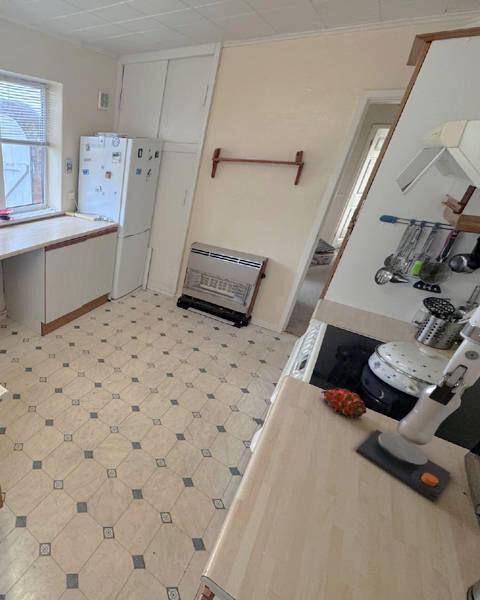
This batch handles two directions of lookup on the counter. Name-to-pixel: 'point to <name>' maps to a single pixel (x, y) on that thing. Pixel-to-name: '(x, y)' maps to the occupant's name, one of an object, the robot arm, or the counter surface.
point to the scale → (404, 468)
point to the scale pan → (402, 449)
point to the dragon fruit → (345, 402)
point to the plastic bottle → (426, 416)
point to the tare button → (429, 479)
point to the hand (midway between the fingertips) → (441, 396)
